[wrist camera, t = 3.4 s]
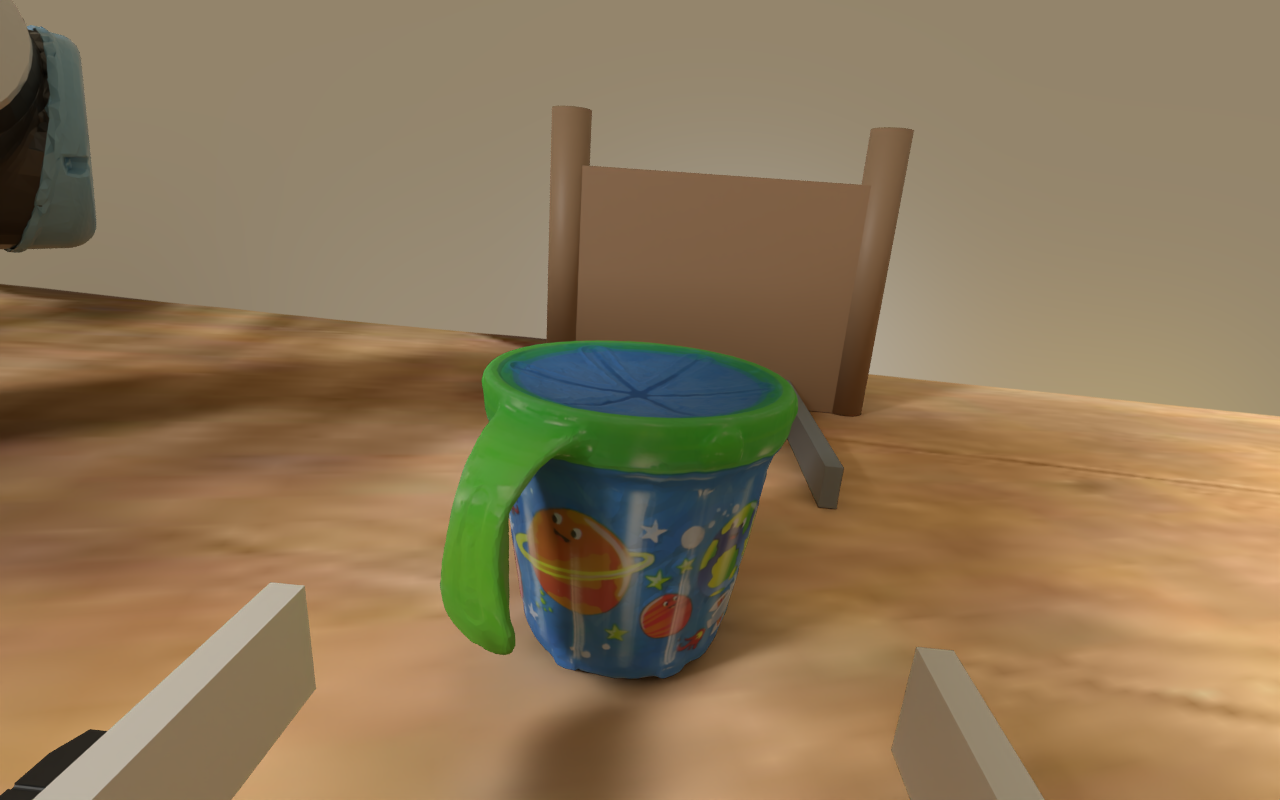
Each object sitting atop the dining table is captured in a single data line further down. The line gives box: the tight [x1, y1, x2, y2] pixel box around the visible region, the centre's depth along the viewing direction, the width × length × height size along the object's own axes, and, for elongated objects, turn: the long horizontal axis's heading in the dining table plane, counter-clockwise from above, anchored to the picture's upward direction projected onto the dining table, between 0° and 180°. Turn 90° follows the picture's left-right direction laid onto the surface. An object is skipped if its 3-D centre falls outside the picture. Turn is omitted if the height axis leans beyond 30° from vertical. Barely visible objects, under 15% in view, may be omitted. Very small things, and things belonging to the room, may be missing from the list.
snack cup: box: [440, 340, 798, 679], centre depth 23 cm, size 16×10×10 cm
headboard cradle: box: [547, 106, 914, 509], centre depth 42 cm, size 27×20×22 cm
